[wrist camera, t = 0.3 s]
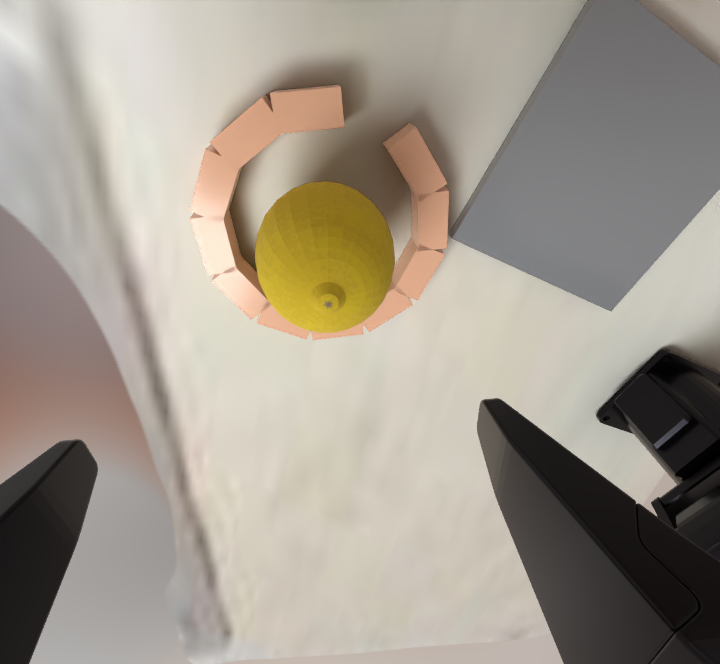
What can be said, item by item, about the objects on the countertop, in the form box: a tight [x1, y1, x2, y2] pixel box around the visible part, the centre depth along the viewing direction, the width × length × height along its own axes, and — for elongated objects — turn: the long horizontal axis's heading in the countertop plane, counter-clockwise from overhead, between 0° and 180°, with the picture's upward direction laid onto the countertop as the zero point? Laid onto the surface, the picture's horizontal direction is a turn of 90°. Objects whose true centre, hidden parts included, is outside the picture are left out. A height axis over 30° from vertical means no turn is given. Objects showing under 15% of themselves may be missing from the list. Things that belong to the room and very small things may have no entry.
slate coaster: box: [449, 0, 720, 311], centre depth 20 cm, size 11×11×1 cm
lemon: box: [255, 181, 395, 333], centre depth 17 cm, size 6×6×8 cm
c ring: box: [189, 85, 449, 340], centre depth 20 cm, size 11×11×2 cm
